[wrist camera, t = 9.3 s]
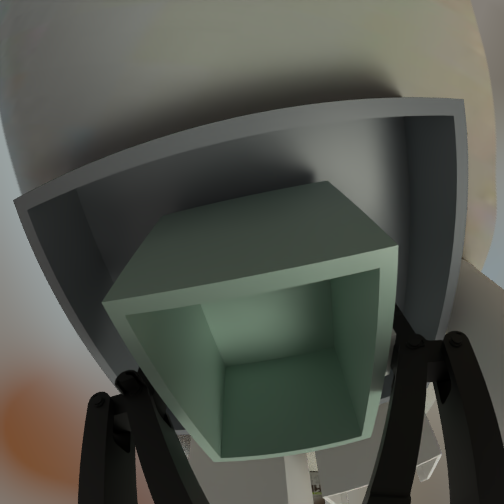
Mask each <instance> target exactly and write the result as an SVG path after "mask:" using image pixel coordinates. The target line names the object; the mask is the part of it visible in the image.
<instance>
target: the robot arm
mask: <svg viewBox="0 0 504 504" xmlns="http://www.w3.org/2000/svg"><path fill="white" fill-rule="evenodd" d="M390 369H392V371H393V373H394V376H393V381H392V385H391V394H390V400H389V405H388V410H387V415H386V420H385V425H384V429H383V434H382V438H381V442H380V446H379V450H378V454H377V458H376V461H375V465H374V469H373V472H372V475H371V479H370V482H369V485H368V488H367V491H366V494H365V497H364V500H363V503H362V504H410V503H411V497H410V492H411V487H412V484H413V479H414V475H415V470H416V465H417V460H418V454H419V449H420V442H421V436H422V428H423V420H424V411H425V401H426V387H427V382H433V386H434V390H435V394H436V399H437V404H438V408H439V414H440V419H441V424H442V430H443V437H444V443H445V450H446V458H447V467H448V477H449V489H450V504H504V446H503V442H502V437H501V433H500V429H499V425H498V421H497V418H496V414H495V411H494V407H493V404H492V401H491V397H490V394H489V391H488V388H487V385H486V382H485V380H484V377H483V374H482V371H481V369H480V366H479V363H478V361H477V358H476V356H475V353H474V351H473V348H472V346H471V343H470V341H469V339H468V337H467V336H466V335H465V334H464V333H462V332H460V331H451V332H448V333H447V334H446V335H445V336H444V339H443V340H426V339H425V338H424V337H423V336H422V335H420V334H416V333H415V332H414V330H413V328H412V327H411V325H410V324H409V322H408V321H407V319H406V318H405V316H404V315H403V313H402V312H401V310H400V309H399V307H398V306H397V304H396V303H395V309H394V319H393V327H392V335H391V342H390V349H389V356H388V362H387V368H386V373H385V376H386V375H389V374H390ZM115 386H116V387H117V389H118V390H119V391H120V392H121V394H119V395H116V396H112V397H110V396H109V395H108V394H107V393H105V392H98V393H96V394H94V395H93V396H92V397H91V399H90V400H89V403H88V408H87V415H86V421H85V428H84V436H83V443H82V453H81V462H80V474H79V492H78V504H138V503H137V489H136V467H135V447H136V450H137V453H138V457H139V460H140V463H141V466H142V470H143V473H144V476H145V478H146V482H147V484H148V487H149V490H150V493H151V495H152V498H153V501H154V503H155V504H210V503H209V502H208V500H207V498H206V496H205V494H204V492H203V490H202V488H201V486H200V484H199V482H198V480H197V478H196V476H195V474H194V472H193V470H192V468H191V466H190V464H189V462H188V459H187V457H186V455H185V453H184V451H183V448H182V446H181V444H180V441H179V439H178V437H177V434H176V432H175V430H174V427H173V425H172V422H171V420H170V417H169V415H168V414H167V412H166V408H167V405H166V404H165V402H164V401H163V400H162V398H161V397H160V396H159V394H158V393H157V391H156V390H155V389H154V387H153V386H152V384H151V383H150V381H149V380H148V379H147V377H146V376H145V374H144V373H143V371H142V370H141V368H140V367H139V369H138V372H136V371H135V370H127V371H124V372H122V373H120V374H119V375H118V376H117V378H116V380H115Z"/></svg>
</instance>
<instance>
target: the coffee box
mask: <svg viewBox="0 0 504 504" xmlns="http://www.w3.org/2000/svg"><path fill="white" fill-rule="evenodd" d="M309 473H310V480H311V488H312V495H313V502H314V504H325V500H324V498H323V497H322V493H321V486H320V480H319V473H318V472H309Z"/></svg>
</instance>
